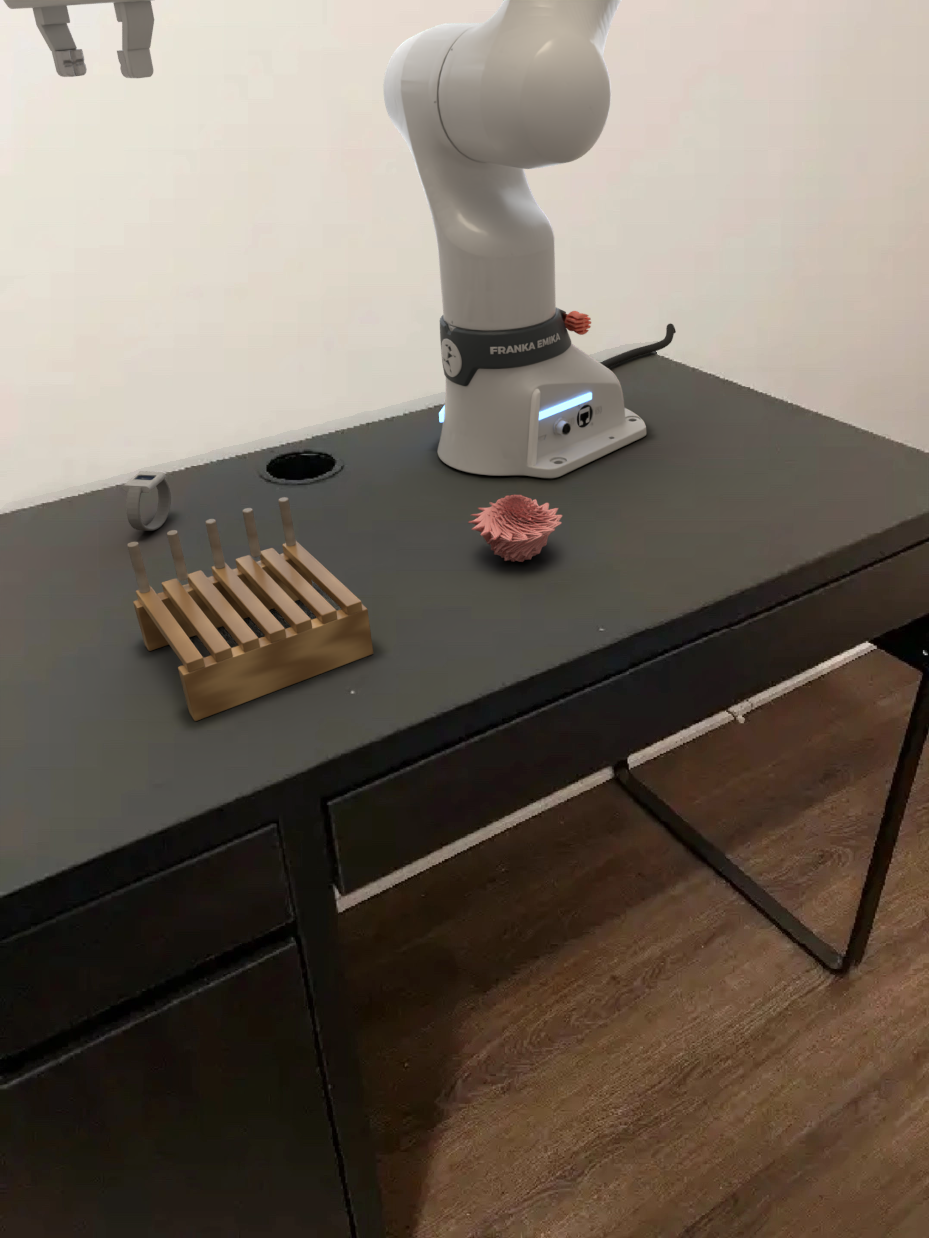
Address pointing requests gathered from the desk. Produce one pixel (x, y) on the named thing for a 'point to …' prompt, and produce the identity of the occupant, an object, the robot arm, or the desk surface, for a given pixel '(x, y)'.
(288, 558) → the rack
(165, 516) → the wristwatch
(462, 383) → the robot arm
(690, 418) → the desk surface
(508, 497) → the flower
